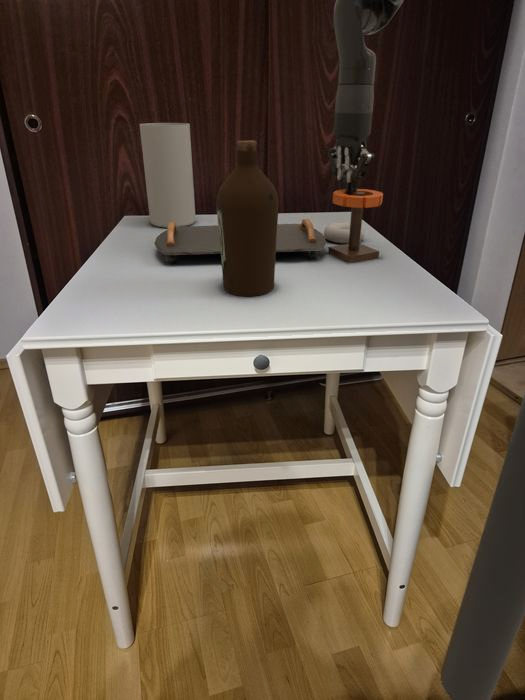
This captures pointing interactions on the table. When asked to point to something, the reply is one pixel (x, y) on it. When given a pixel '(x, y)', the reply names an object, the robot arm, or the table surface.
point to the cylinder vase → (168, 173)
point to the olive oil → (247, 226)
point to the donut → (339, 232)
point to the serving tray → (208, 240)
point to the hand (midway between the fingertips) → (346, 198)
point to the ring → (358, 199)
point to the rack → (354, 240)
